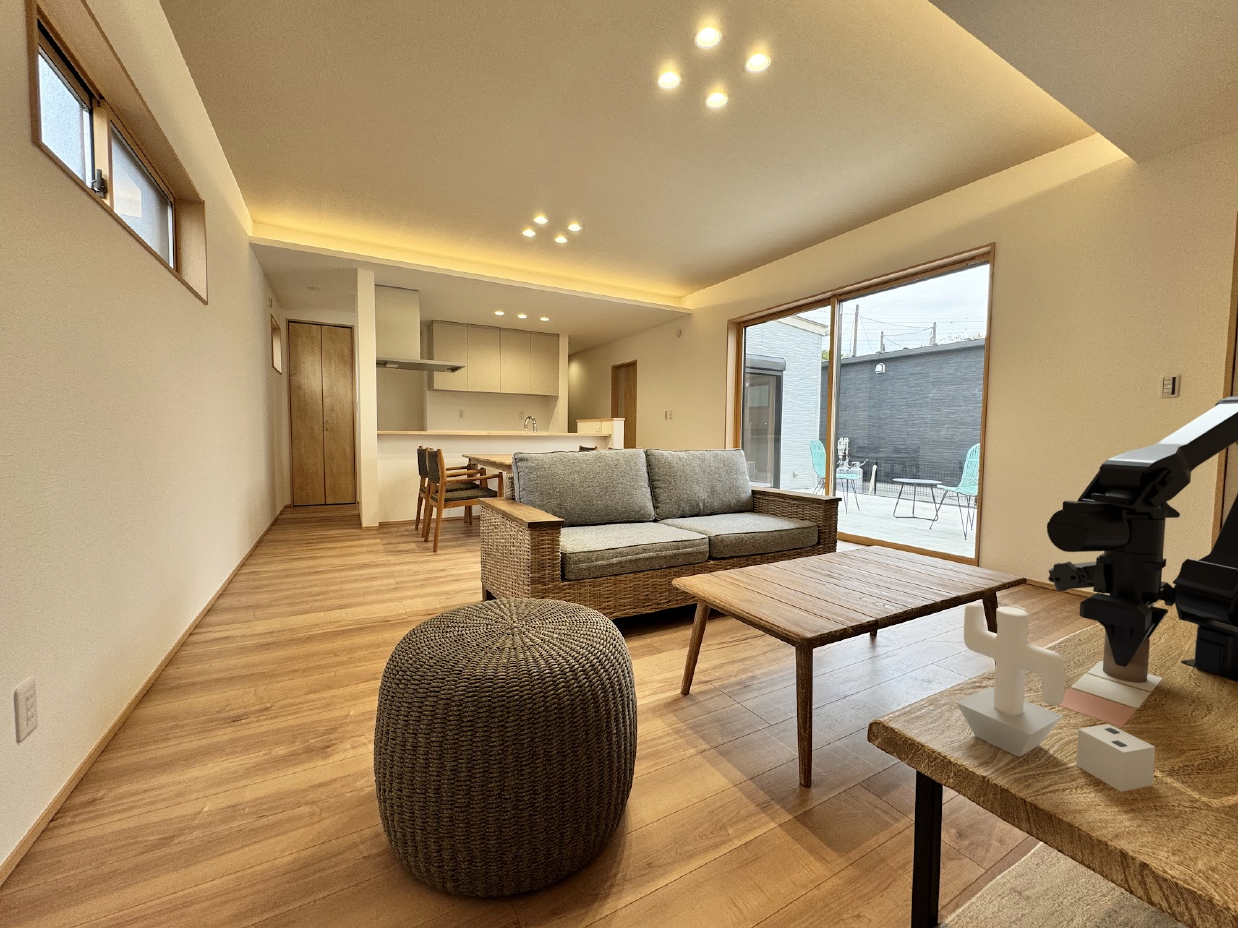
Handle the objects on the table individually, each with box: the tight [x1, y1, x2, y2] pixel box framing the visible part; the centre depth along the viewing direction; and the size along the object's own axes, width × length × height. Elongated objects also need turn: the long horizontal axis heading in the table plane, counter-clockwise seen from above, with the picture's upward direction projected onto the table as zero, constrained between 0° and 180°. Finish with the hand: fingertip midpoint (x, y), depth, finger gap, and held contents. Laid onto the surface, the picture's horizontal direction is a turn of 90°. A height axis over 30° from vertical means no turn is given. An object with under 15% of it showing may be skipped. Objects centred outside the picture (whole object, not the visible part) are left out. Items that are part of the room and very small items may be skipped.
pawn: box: [1102, 631, 1151, 683], centre depth 71 cm, size 4×4×8 cm
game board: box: [1058, 660, 1164, 728], centre depth 68 cm, size 22×8×1 cm, turn 125°
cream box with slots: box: [1075, 723, 1156, 792], centre depth 52 cm, size 4×4×4 cm
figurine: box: [955, 602, 1066, 758], centre depth 57 cm, size 7×9×15 cm
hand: (1125, 660), depth 71 cm, fingers closed on pawn, 4 cm apart
